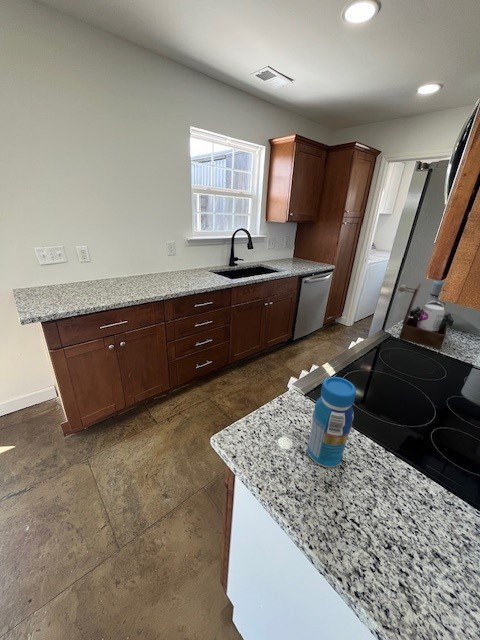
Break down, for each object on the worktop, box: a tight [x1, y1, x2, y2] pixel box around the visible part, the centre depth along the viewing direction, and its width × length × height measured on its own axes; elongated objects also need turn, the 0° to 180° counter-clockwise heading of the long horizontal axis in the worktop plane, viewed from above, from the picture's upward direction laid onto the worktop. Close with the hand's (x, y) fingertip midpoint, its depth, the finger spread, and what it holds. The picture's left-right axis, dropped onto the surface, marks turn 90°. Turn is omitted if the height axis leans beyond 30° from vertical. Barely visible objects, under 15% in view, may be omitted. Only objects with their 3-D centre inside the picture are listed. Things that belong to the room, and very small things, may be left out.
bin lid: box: [398, 282, 422, 325], centre depth 120 cm, size 16×13×7 cm
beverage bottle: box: [306, 376, 357, 468], centre depth 59 cm, size 8×8×20 cm
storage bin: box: [398, 316, 448, 351], centre depth 119 cm, size 16×13×7 cm
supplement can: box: [416, 303, 446, 333], centre depth 117 cm, size 8×8×15 cm
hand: (428, 323), depth 113 cm, fingers open, 9 cm apart
